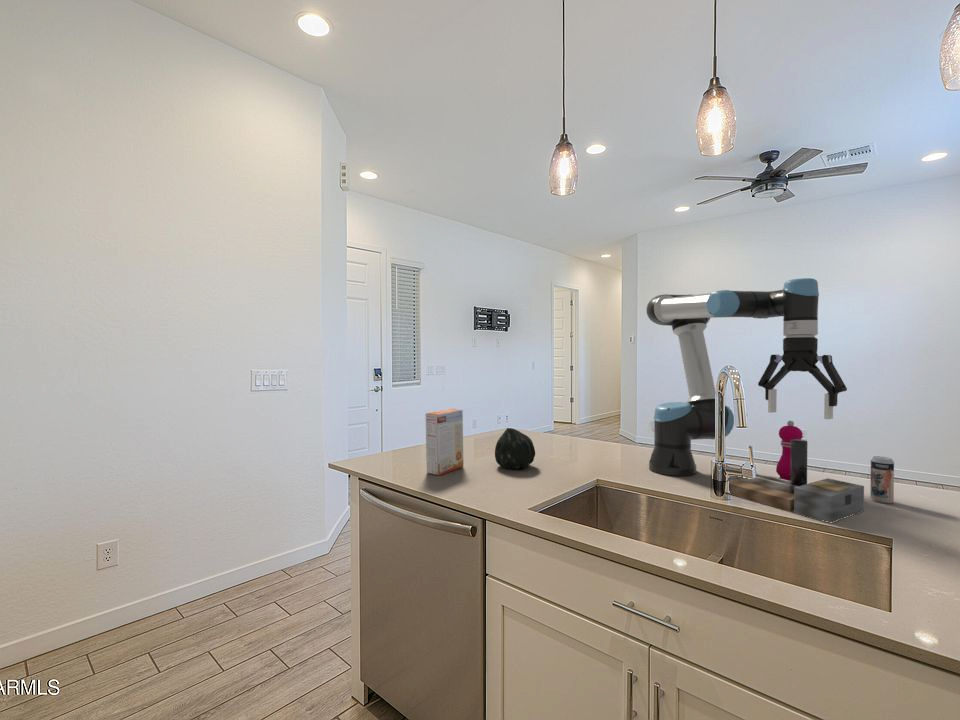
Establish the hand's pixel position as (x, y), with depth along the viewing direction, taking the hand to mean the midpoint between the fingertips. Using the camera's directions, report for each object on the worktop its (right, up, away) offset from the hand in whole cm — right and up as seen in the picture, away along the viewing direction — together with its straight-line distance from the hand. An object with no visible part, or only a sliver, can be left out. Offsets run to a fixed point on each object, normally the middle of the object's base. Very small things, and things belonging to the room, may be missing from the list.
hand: (799, 415), depth 118 cm
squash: (-74, -24, +40) cm, 87 cm away
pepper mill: (+9, -24, +17) cm, 31 cm away
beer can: (+24, -24, +2) cm, 34 cm away
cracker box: (-99, -24, +35) cm, 107 cm away
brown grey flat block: (-1, -24, +2) cm, 24 cm away
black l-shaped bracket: (+2, -21, -2) cm, 21 cm away
